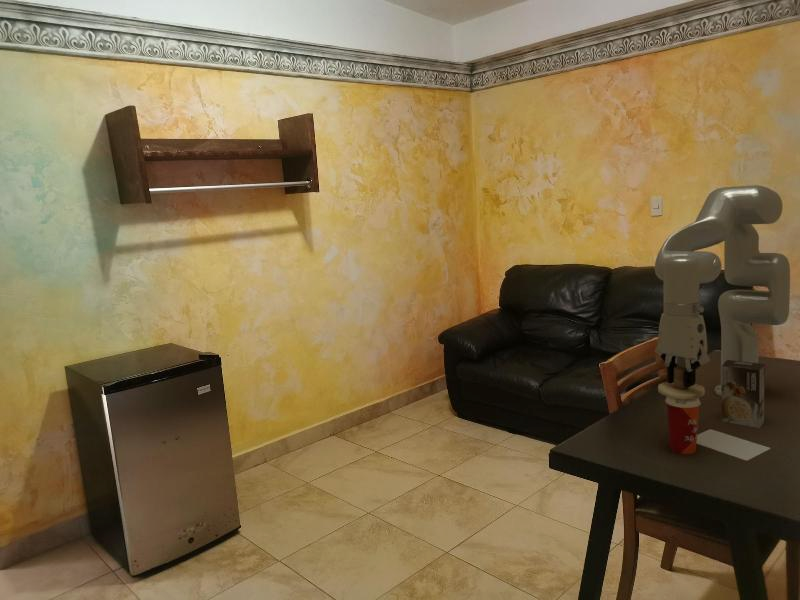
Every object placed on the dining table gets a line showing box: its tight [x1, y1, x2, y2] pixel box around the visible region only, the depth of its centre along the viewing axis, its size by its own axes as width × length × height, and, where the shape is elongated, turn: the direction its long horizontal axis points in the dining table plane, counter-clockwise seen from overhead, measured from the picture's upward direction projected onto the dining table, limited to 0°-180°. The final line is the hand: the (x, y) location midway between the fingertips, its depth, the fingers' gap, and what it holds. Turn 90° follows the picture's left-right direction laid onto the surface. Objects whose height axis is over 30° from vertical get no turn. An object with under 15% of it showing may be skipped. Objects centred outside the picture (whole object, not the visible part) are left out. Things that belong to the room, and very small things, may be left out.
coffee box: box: [720, 360, 766, 429], centre depth 153 cm, size 9×6×16 cm
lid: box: [657, 365, 706, 399], centre depth 139 cm, size 10×10×6 cm
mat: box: [696, 429, 772, 462], centre depth 142 cm, size 10×15×1 cm, turn 30°
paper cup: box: [664, 396, 702, 455], centre depth 140 cm, size 8×8×14 cm
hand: (681, 383), depth 139 cm, fingers open, 3 cm apart
